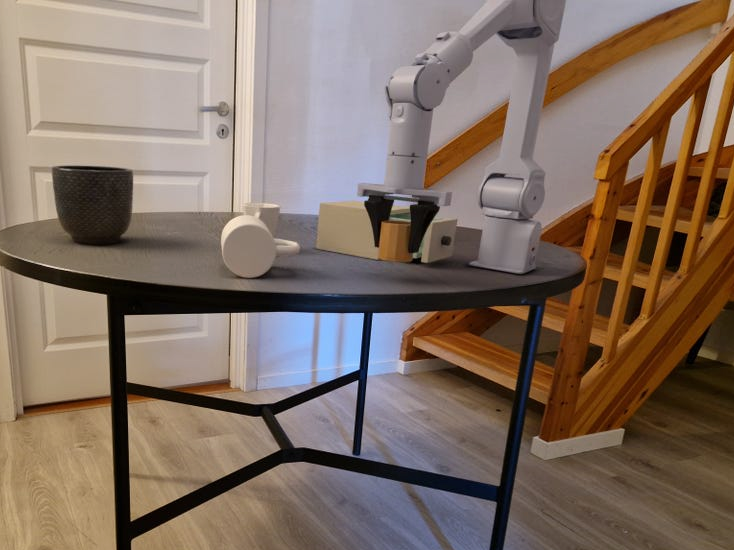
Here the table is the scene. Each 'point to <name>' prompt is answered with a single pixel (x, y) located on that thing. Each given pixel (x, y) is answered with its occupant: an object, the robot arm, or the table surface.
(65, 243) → the table surface
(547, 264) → the table surface
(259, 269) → the mug
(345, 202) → the cabinet
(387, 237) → the tumbler
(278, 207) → the cup
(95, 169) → the planter
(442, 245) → the drawer
